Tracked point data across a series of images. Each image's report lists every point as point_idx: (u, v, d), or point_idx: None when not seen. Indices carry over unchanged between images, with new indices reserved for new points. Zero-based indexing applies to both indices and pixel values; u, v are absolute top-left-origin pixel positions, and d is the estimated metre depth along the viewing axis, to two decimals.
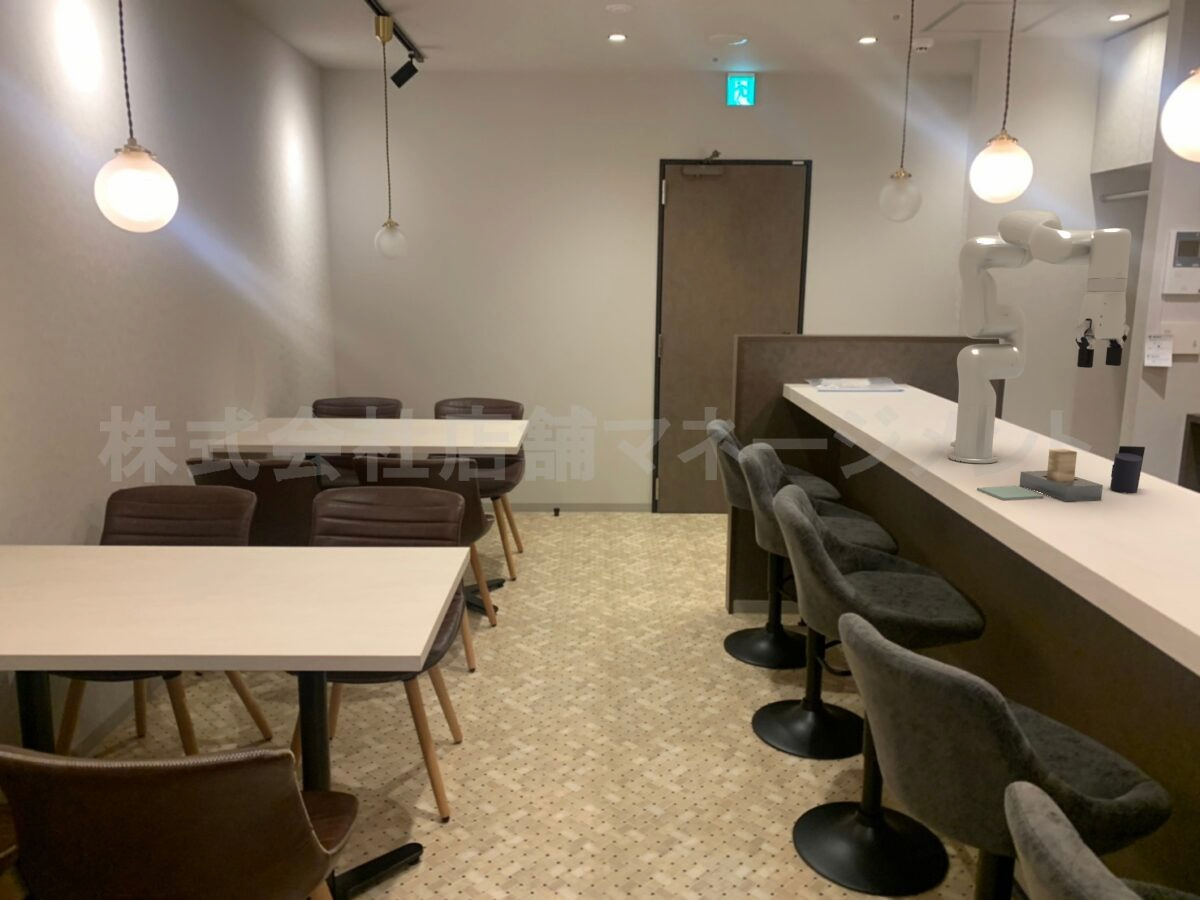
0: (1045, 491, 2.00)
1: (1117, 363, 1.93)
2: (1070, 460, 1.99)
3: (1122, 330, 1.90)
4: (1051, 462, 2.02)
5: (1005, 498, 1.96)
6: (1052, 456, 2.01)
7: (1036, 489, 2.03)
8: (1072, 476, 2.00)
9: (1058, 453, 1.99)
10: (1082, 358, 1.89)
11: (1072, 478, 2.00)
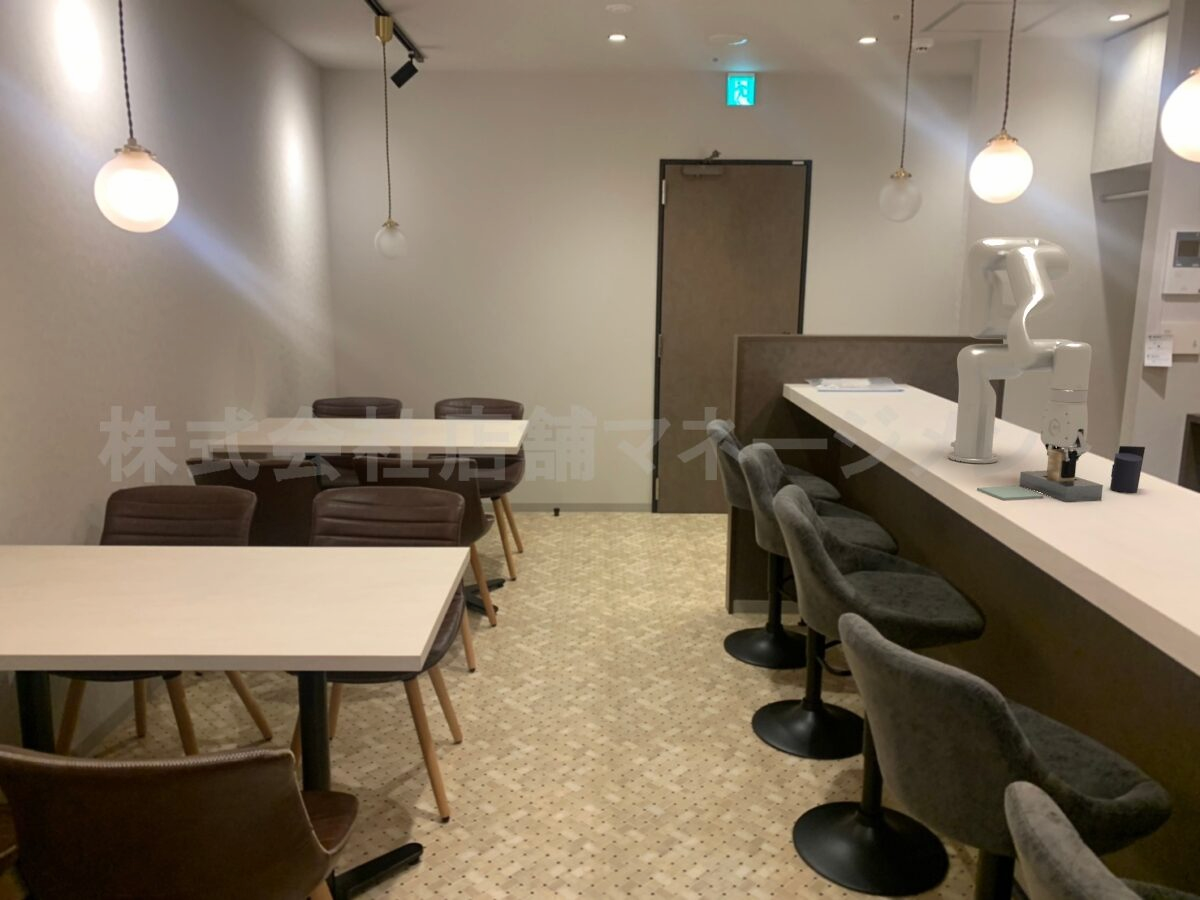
0: (1045, 491, 2.00)
1: None
2: None
3: None
4: (1051, 462, 2.02)
5: (1005, 498, 1.96)
6: (1052, 456, 2.01)
7: (1036, 489, 2.03)
8: None
9: (1058, 453, 1.99)
10: (1071, 470, 1.98)
11: (1072, 478, 2.00)
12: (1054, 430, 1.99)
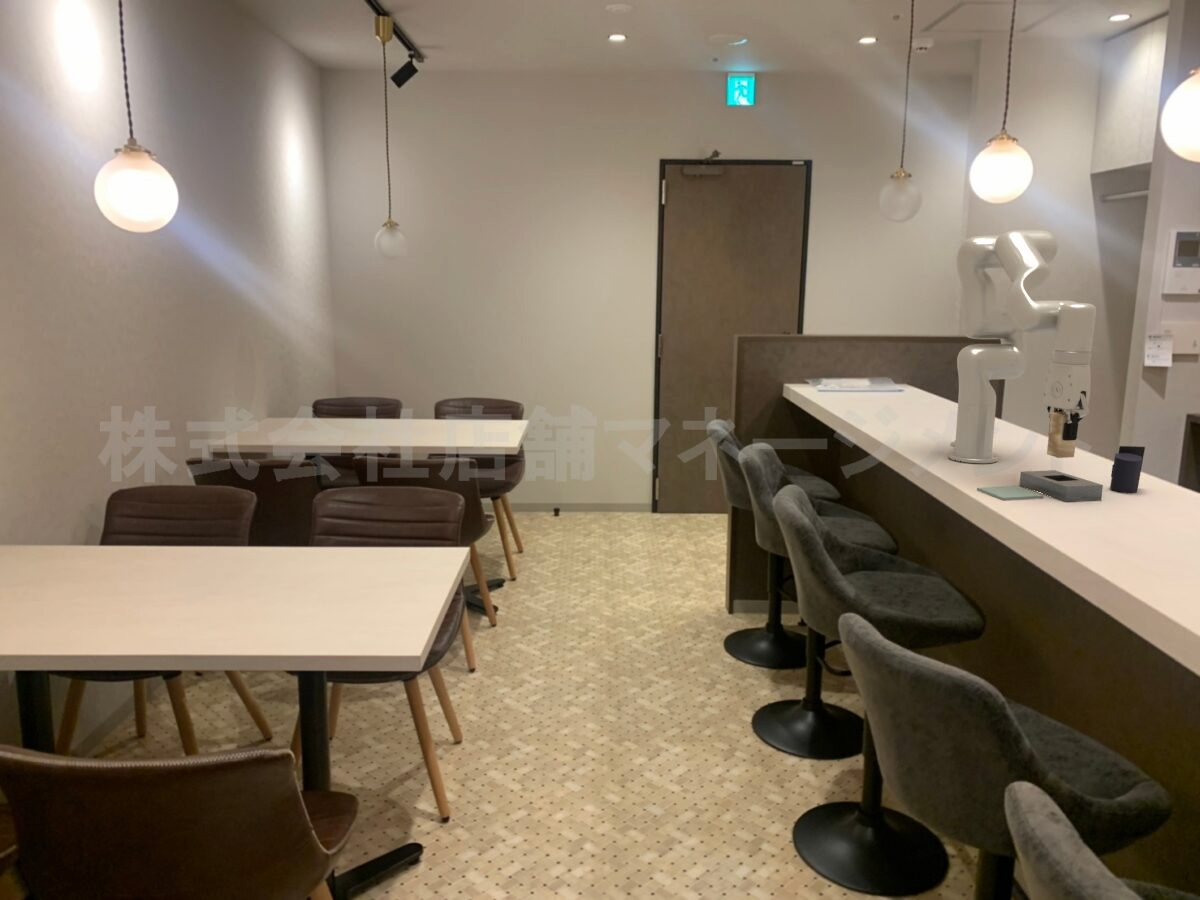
0: (1045, 491, 2.00)
1: None
2: None
3: None
4: (1053, 425, 2.01)
5: (1005, 498, 1.96)
6: (1054, 418, 2.00)
7: (1036, 489, 2.03)
8: None
9: (1060, 415, 1.98)
10: (1072, 432, 1.97)
11: (1074, 441, 1.99)
12: (1056, 392, 1.98)
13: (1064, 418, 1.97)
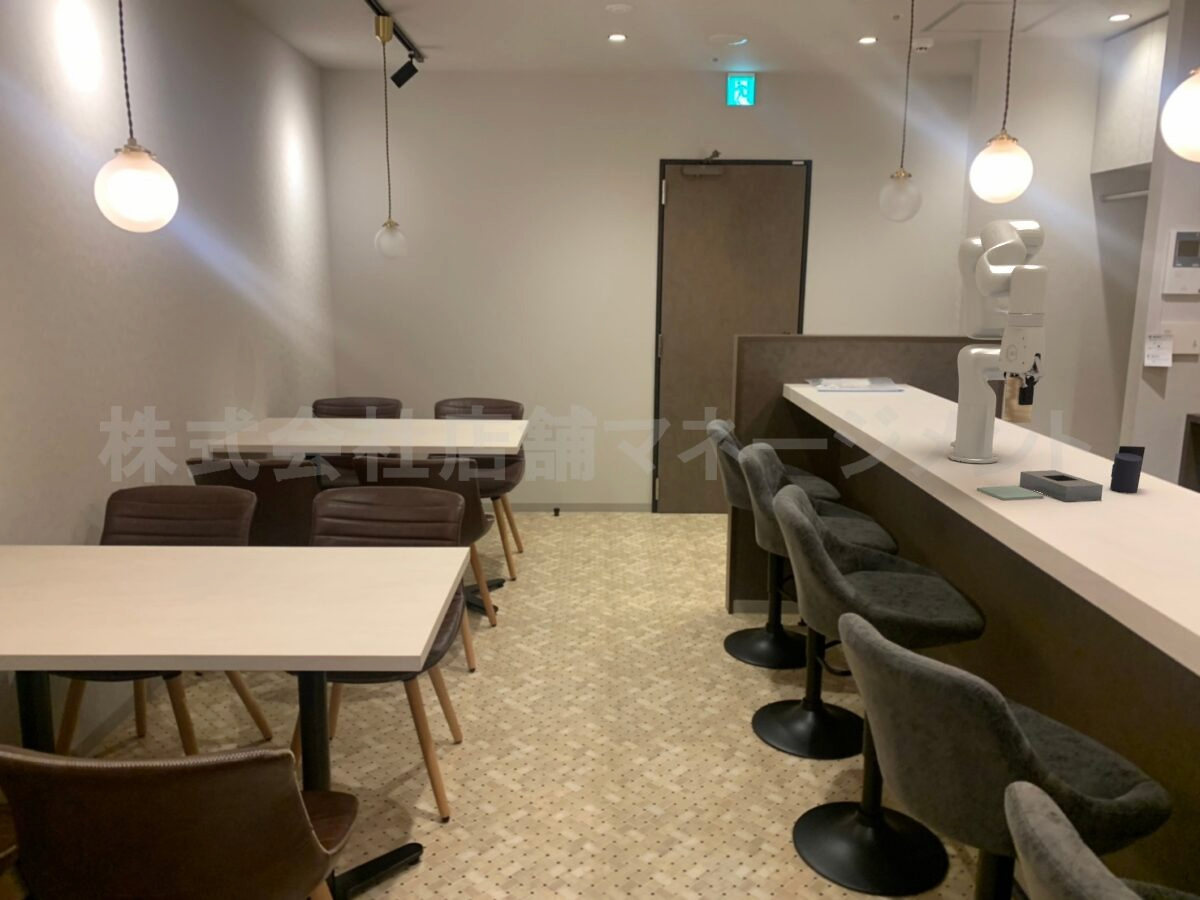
0: (1045, 491, 2.00)
1: None
2: None
3: None
4: (1009, 390, 1.97)
5: (1005, 498, 1.96)
6: (1010, 383, 1.97)
7: (1036, 489, 2.03)
8: None
9: (1016, 380, 1.95)
10: (1028, 396, 1.94)
11: (1030, 405, 1.96)
12: (1011, 356, 1.95)
13: (1019, 382, 1.94)
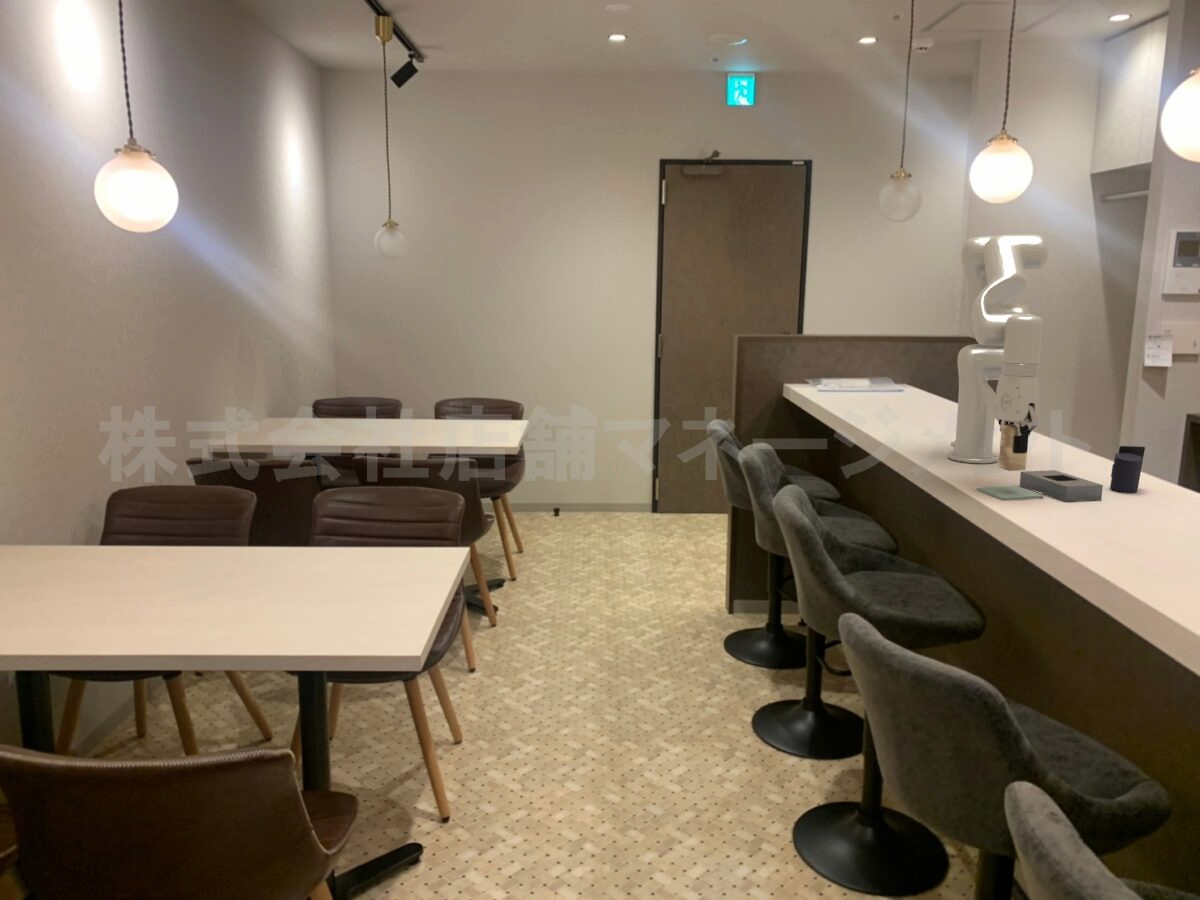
0: (1045, 491, 2.00)
1: None
2: None
3: None
4: (1003, 438, 1.99)
5: (1005, 498, 1.96)
6: (1005, 431, 1.99)
7: (1036, 489, 2.03)
8: None
9: (1010, 428, 1.97)
10: (1022, 445, 1.96)
11: (1025, 453, 1.97)
12: (1006, 405, 1.97)
13: (1014, 431, 1.96)
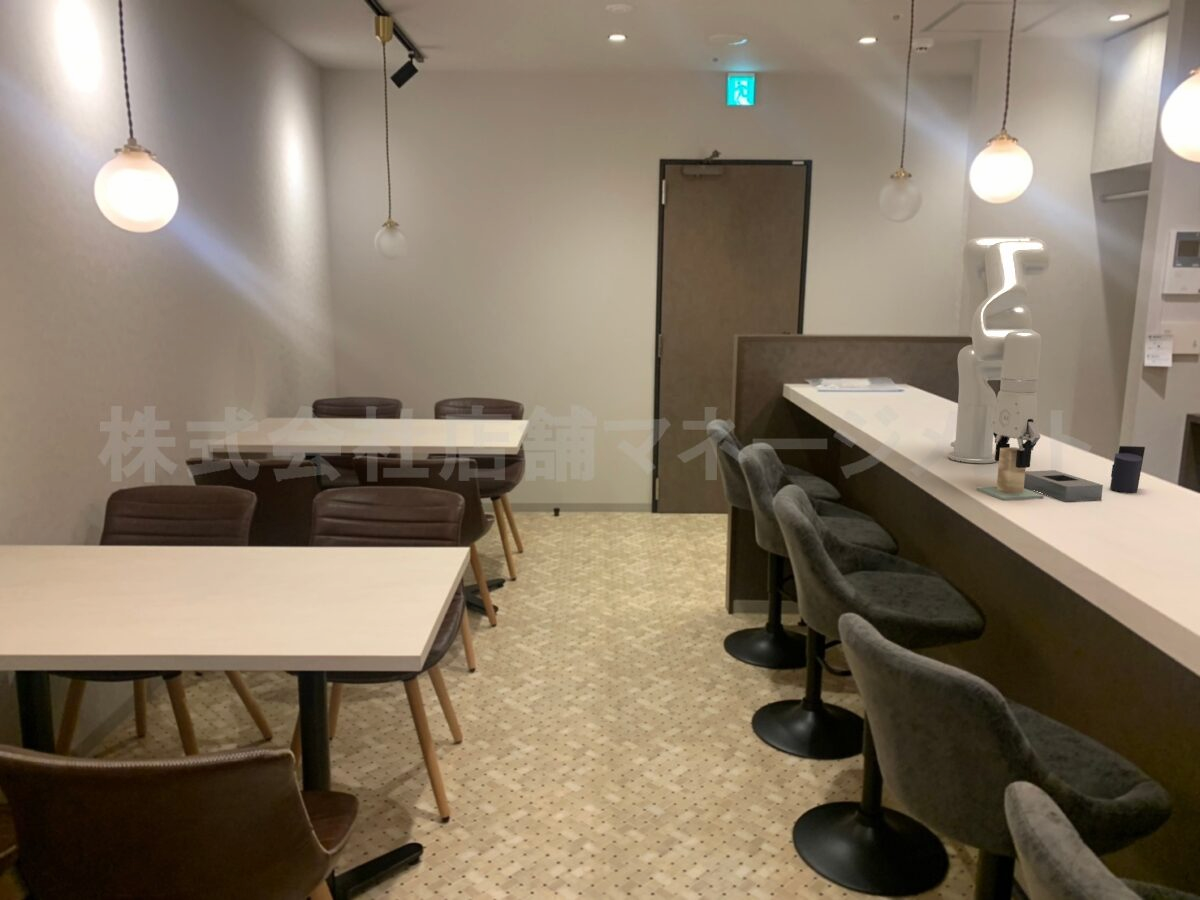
0: (1045, 491, 2.00)
1: None
2: None
3: None
4: (1001, 461, 2.00)
5: (1005, 498, 1.96)
6: (1003, 455, 2.00)
7: (1036, 489, 2.03)
8: (1022, 475, 1.99)
9: (1008, 451, 1.98)
10: (1025, 459, 1.95)
11: (1023, 477, 1.99)
12: (1004, 420, 1.98)
13: (1012, 454, 1.97)
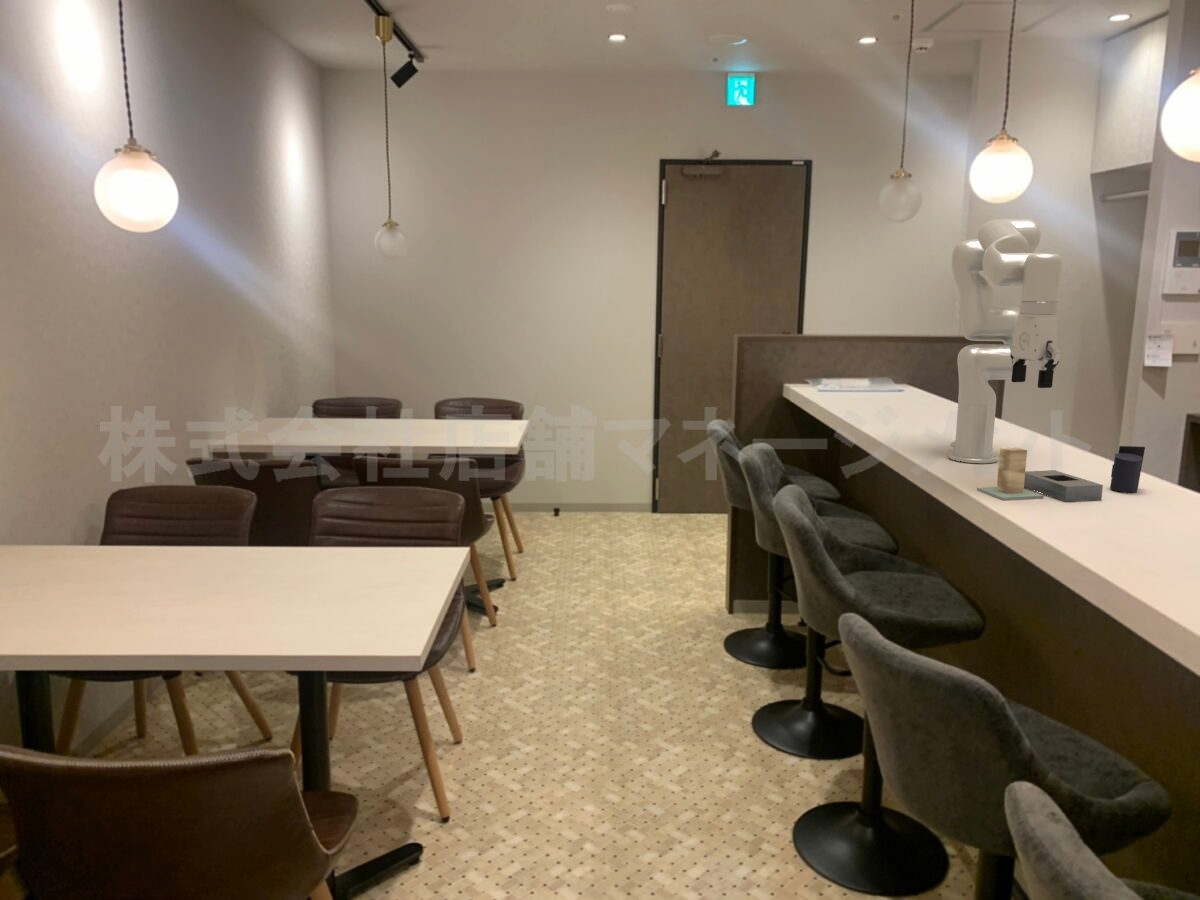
0: (1045, 491, 2.00)
1: (1024, 379, 2.05)
2: (1020, 458, 1.98)
3: None
4: (1001, 461, 2.00)
5: (1005, 498, 1.96)
6: (1003, 455, 2.00)
7: (1036, 489, 2.03)
8: (1022, 475, 1.99)
9: (1008, 451, 1.98)
10: (1047, 379, 1.94)
11: (1023, 477, 1.99)
12: (1024, 343, 1.98)
13: (1012, 454, 1.97)
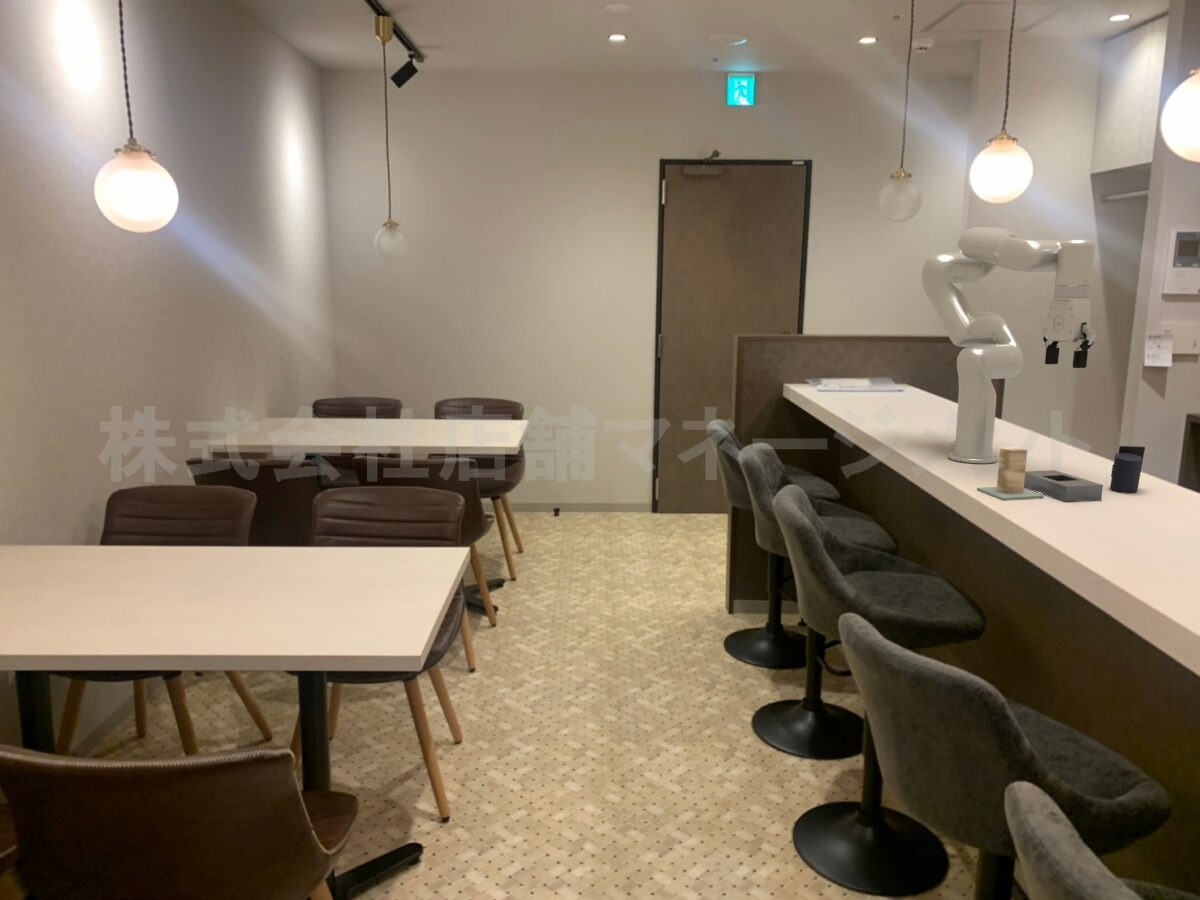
0: (1045, 491, 2.00)
1: (1057, 362, 2.13)
2: (1020, 458, 1.98)
3: None
4: (1001, 461, 2.00)
5: (1005, 498, 1.96)
6: (1003, 455, 2.00)
7: (1036, 489, 2.03)
8: (1022, 475, 1.99)
9: (1008, 451, 1.98)
10: (1082, 359, 2.03)
11: (1023, 477, 1.99)
12: (1058, 326, 2.06)
13: (1012, 454, 1.97)
